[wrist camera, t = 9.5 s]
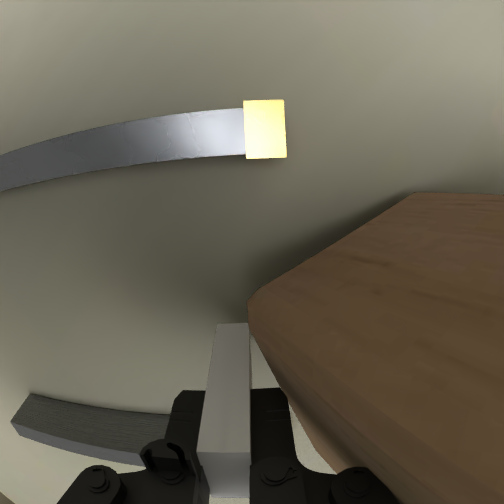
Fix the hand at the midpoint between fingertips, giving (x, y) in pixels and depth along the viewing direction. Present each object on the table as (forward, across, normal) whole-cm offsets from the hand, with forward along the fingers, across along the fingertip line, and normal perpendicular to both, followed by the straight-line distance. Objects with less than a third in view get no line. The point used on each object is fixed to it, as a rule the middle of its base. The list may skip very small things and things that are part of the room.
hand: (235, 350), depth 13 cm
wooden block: (+1, +6, 0) cm, 6 cm away
